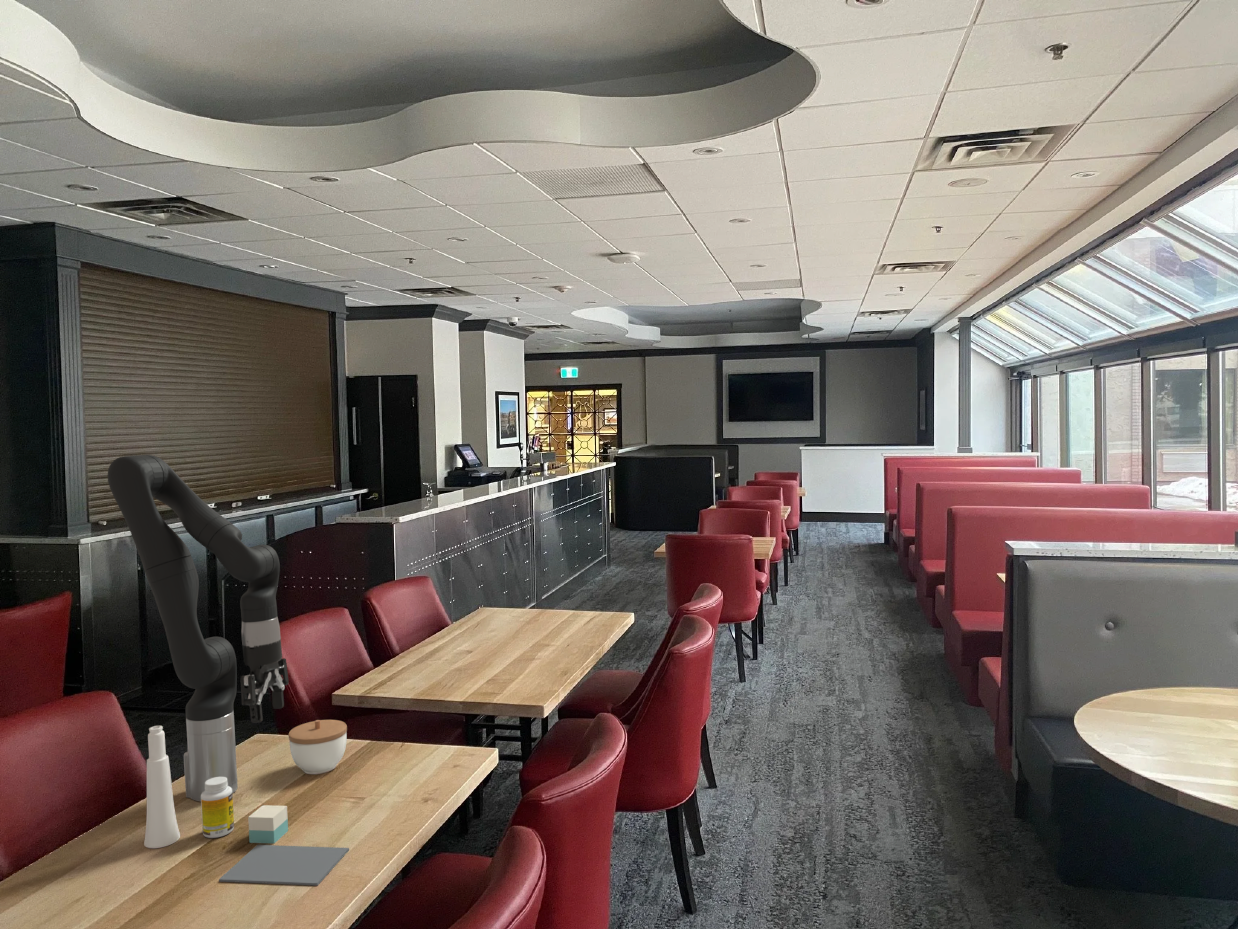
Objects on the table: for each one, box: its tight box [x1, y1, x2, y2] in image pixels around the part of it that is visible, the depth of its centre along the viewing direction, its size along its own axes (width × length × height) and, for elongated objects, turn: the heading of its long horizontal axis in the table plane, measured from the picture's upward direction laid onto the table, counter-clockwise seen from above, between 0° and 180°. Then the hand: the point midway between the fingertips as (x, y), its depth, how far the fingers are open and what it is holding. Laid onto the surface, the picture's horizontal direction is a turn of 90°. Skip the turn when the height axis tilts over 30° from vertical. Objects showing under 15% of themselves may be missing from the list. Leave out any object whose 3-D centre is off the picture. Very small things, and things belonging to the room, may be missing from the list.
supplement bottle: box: [200, 777, 235, 839], centre depth 163 cm, size 6×6×10 cm
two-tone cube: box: [247, 804, 289, 845], centre depth 161 cm, size 5×5×5 cm
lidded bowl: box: [288, 719, 348, 775], centre depth 193 cm, size 13×13×11 cm
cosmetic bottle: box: [143, 725, 181, 849], centre depth 160 cm, size 6×6×22 cm
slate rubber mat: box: [218, 844, 350, 887], centre depth 150 cm, size 18×12×1 cm, turn 83°
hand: (268, 715), depth 179 cm, fingers open, 8 cm apart
